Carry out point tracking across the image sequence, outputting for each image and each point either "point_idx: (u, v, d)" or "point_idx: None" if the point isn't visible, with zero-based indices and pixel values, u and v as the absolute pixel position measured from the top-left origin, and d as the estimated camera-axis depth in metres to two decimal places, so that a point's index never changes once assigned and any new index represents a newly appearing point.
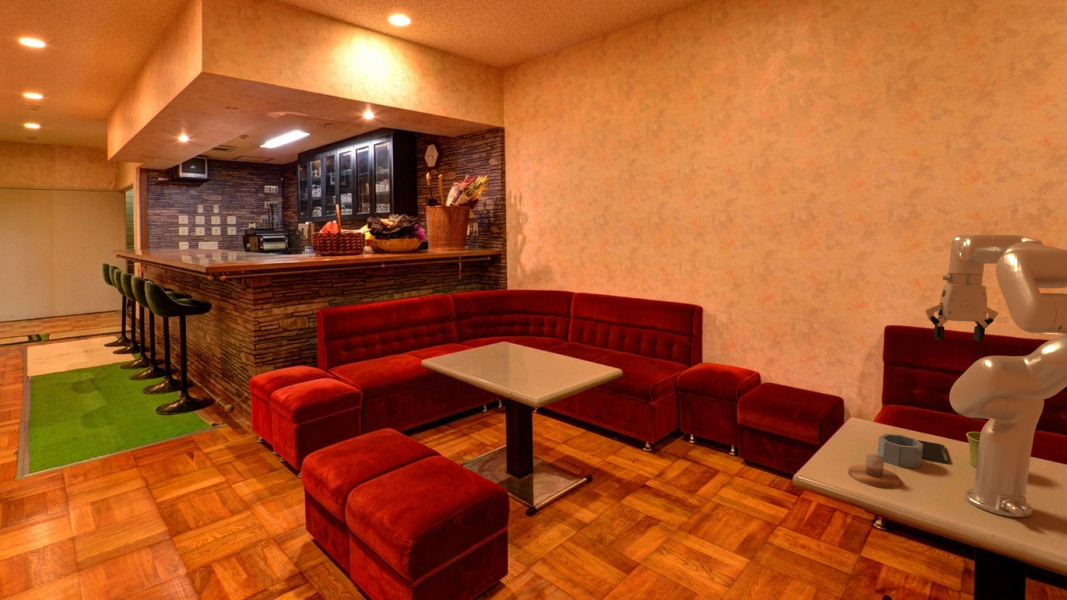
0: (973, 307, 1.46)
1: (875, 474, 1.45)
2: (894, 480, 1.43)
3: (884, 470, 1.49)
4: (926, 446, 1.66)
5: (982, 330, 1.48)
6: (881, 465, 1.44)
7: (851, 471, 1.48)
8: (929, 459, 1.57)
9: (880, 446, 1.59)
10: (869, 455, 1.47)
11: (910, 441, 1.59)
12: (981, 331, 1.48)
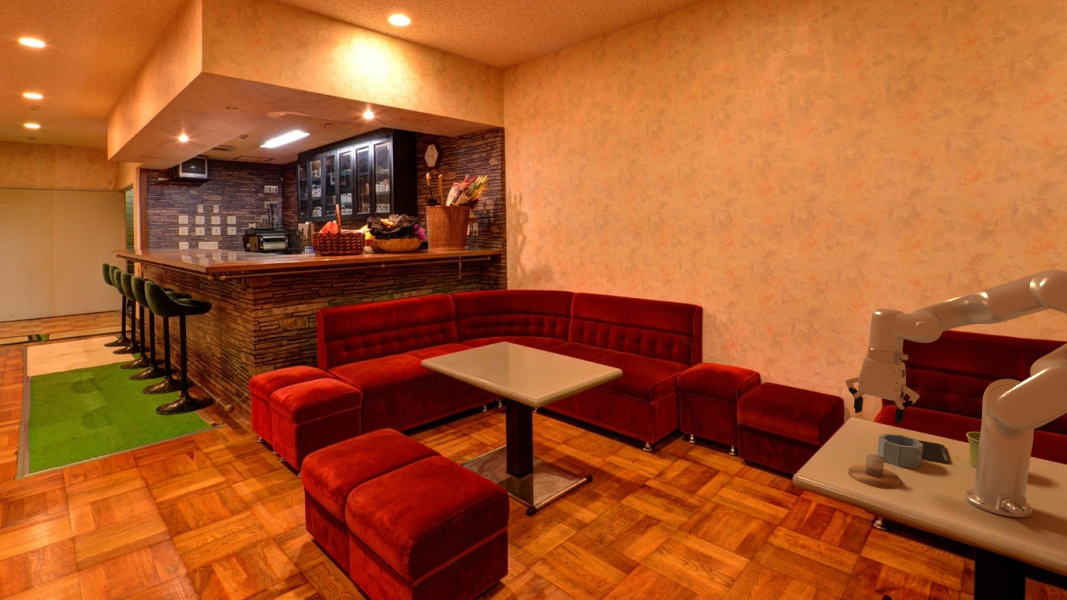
0: None
1: (875, 474, 1.45)
2: (894, 480, 1.43)
3: (884, 470, 1.49)
4: (926, 446, 1.66)
5: None
6: (881, 465, 1.44)
7: (851, 471, 1.48)
8: (929, 459, 1.57)
9: (880, 446, 1.59)
10: (869, 455, 1.47)
11: (910, 441, 1.59)
12: None
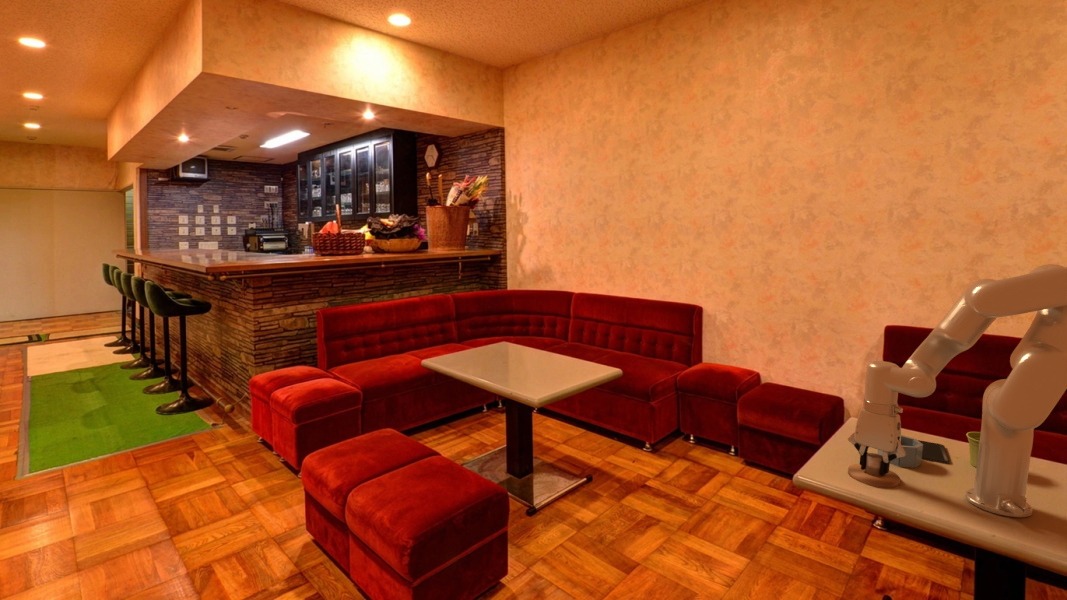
0: None
1: (875, 473, 1.45)
2: (894, 479, 1.43)
3: None
4: (926, 446, 1.66)
5: None
6: None
7: (851, 470, 1.48)
8: (929, 459, 1.57)
9: None
10: (869, 454, 1.47)
11: (910, 441, 1.59)
12: None
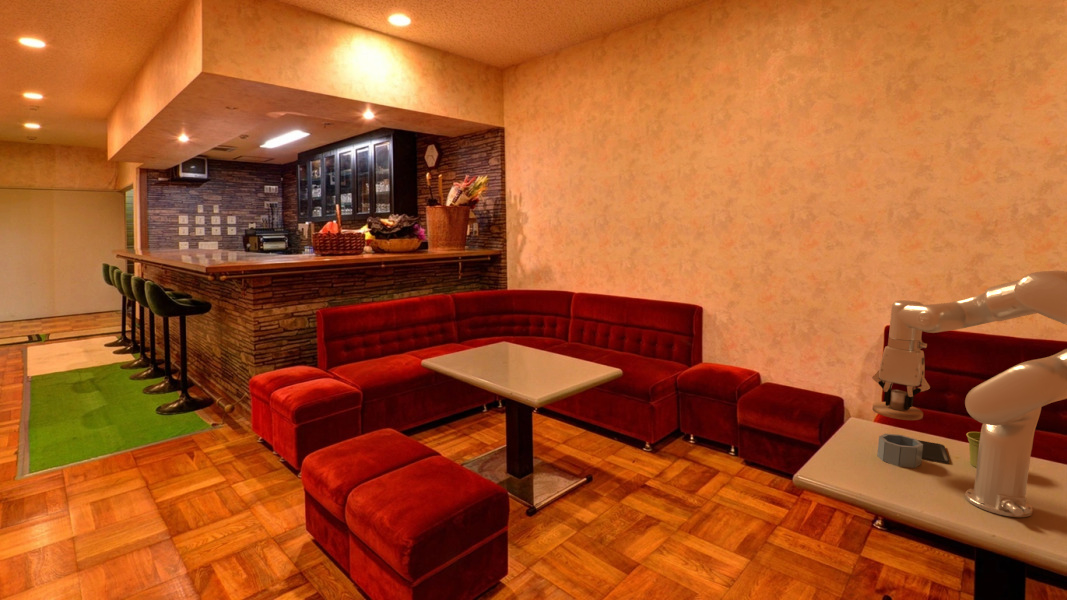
0: None
1: (899, 408, 1.51)
2: (917, 412, 1.50)
3: None
4: (926, 446, 1.66)
5: None
6: None
7: (876, 406, 1.55)
8: (929, 459, 1.57)
9: (880, 446, 1.59)
10: (893, 390, 1.54)
11: (910, 441, 1.59)
12: None
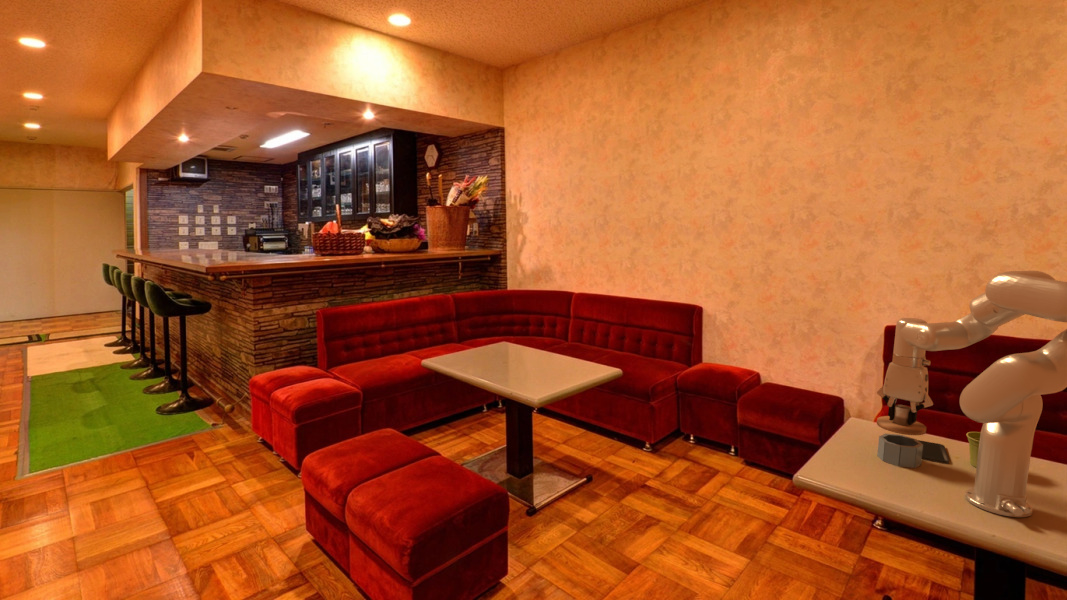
0: None
1: (903, 423, 1.55)
2: (921, 428, 1.53)
3: None
4: (926, 446, 1.66)
5: None
6: (908, 414, 1.54)
7: (880, 421, 1.59)
8: (929, 459, 1.57)
9: (880, 446, 1.59)
10: (897, 405, 1.57)
11: (910, 441, 1.59)
12: None
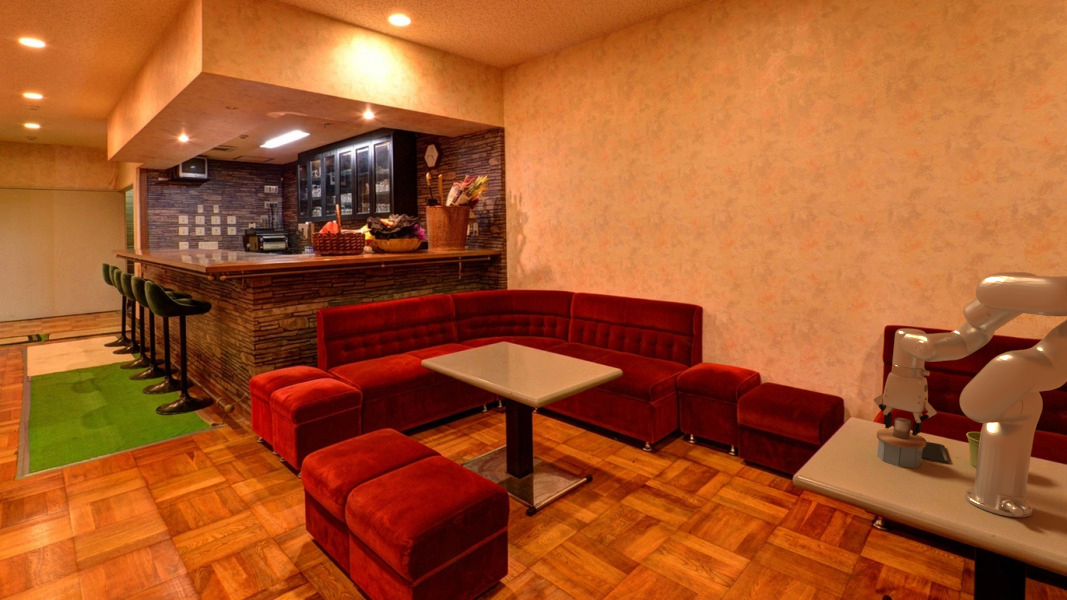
0: None
1: (903, 436, 1.55)
2: (921, 441, 1.53)
3: (910, 433, 1.60)
4: (926, 446, 1.66)
5: None
6: (908, 427, 1.55)
7: (879, 434, 1.59)
8: (929, 459, 1.57)
9: (880, 446, 1.59)
10: (897, 419, 1.57)
11: None
12: None
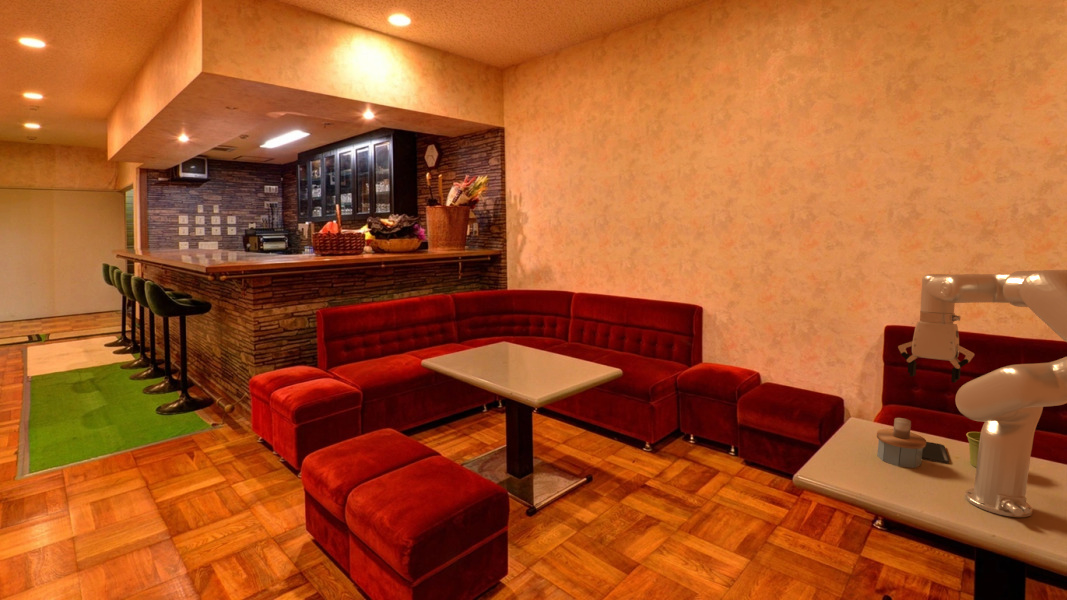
0: None
1: (903, 436, 1.55)
2: (921, 441, 1.53)
3: (910, 433, 1.60)
4: (926, 446, 1.66)
5: None
6: (908, 427, 1.55)
7: (879, 434, 1.59)
8: (929, 459, 1.57)
9: (880, 446, 1.59)
10: (897, 419, 1.57)
11: None
12: None
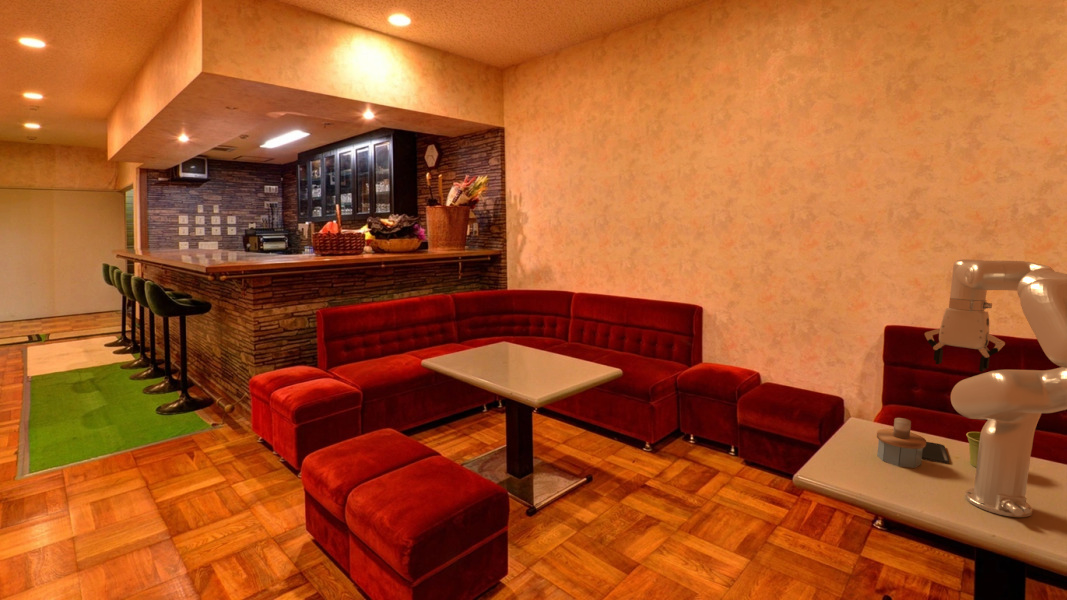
0: None
1: (903, 436, 1.55)
2: (921, 441, 1.53)
3: (910, 433, 1.60)
4: (926, 446, 1.66)
5: None
6: (908, 427, 1.55)
7: (879, 434, 1.59)
8: (929, 459, 1.57)
9: (880, 446, 1.59)
10: (897, 419, 1.57)
11: None
12: None
